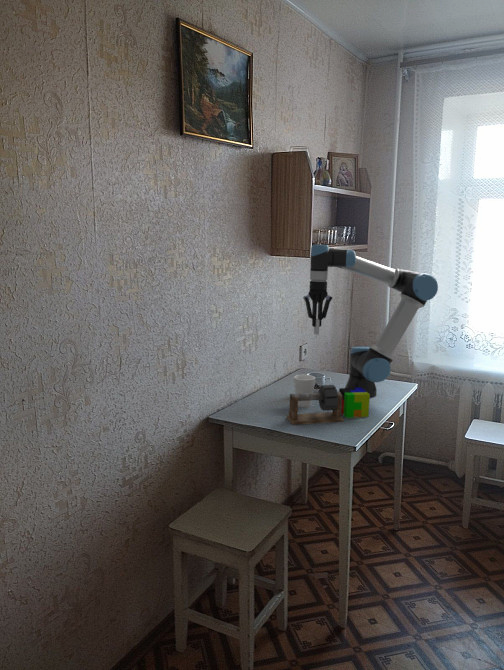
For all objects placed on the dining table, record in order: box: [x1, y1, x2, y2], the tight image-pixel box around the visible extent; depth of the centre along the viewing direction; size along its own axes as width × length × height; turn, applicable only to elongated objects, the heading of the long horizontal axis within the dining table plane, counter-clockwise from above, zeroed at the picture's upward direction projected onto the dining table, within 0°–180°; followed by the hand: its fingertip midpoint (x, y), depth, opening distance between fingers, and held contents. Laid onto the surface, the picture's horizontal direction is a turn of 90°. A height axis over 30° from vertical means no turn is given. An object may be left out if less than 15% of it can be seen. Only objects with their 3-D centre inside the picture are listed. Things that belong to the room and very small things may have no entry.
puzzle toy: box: [338, 387, 371, 419], centre depth 235 cm, size 10×10×10 cm
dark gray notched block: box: [317, 384, 338, 412], centre depth 226 cm, size 5×10×10 cm, turn 12°
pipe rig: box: [286, 391, 345, 426], centre depth 226 cm, size 22×9×12 cm, turn 102°
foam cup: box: [293, 374, 316, 408], centre depth 244 cm, size 10×9×13 cm
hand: (316, 333), depth 241 cm, fingers closed
